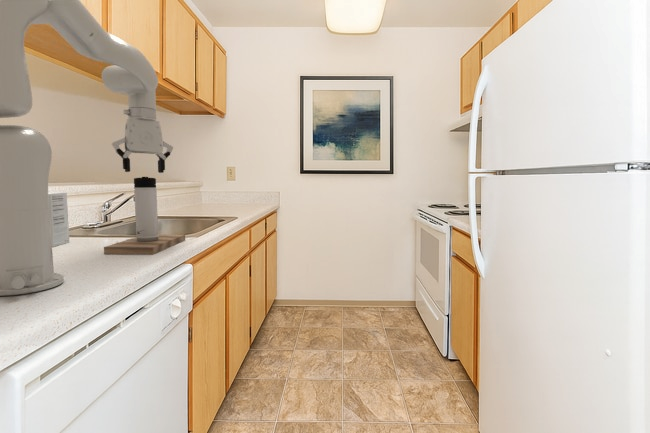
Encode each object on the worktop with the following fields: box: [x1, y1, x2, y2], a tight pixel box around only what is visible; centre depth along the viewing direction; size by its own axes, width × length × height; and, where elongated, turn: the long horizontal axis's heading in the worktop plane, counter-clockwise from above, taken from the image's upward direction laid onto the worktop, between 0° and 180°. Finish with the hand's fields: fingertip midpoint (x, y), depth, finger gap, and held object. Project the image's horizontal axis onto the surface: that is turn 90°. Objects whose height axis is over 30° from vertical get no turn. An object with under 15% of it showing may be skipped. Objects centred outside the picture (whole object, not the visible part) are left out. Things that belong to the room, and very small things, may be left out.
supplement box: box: [48, 191, 70, 248], centre depth 119 cm, size 10×9×17 cm
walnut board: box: [103, 233, 186, 256], centre depth 118 cm, size 24×14×2 cm, turn 179°
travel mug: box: [133, 176, 159, 242], centre depth 116 cm, size 6×7×20 cm
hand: (144, 172), depth 115 cm, fingers open, 9 cm apart
